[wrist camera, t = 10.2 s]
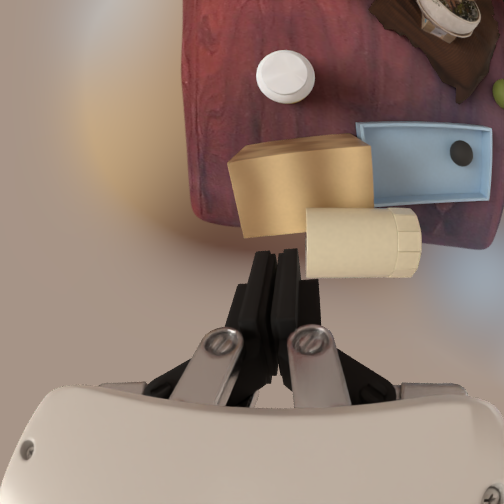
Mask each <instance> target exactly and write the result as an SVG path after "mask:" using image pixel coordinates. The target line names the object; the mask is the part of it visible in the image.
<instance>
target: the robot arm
mask: <svg viewBox="0 0 504 504" xmlns="http://www.w3.org/2000/svg"><path fill="white" fill-rule="evenodd" d="M278 364H279V369H280V375H281V376H282V378H283V383H284V385H285V386H286V387H287V388H288V389H290V390H291V391H292V392H293V400H294V409H272V408H271V409H270V408H255V405H256V402H257V399H258V397H259V389H260V388H262V387H263V386H264V385H266V384H271V380H272V376H276V375H277V371H278ZM0 504H504V418H503V416H502V415H501V413H500V412H499V410H498V409H497V408H496V407H495V406H494V405H493V404H492V403H489V402H488V401H486V400H483V399H480V398H476V397H471V396H468V393H467V391H466V390H465V389H464V388H463V387H462V386H460V385H458V384H452V383H451V384H450V383H449V384H433V383H430V384H429V383H402V384H401V385H392V384H391V383H390V382H389V381H388V380H386V379H385V378H383V377H381V376H380V375H378V374H377V373H375V372H374V371H372V370H370V369H369V368H367V367H365V366H364V365H362V364H361V363H359V362H358V361H356V360H354V359H353V358H351V357H350V356H348V355H347V354H345V353H343V352H342V351H340V350H339V349H337V348H336V345H335V341H334V338H333V335H332V333H331V332H330V331H329V330H328V329H327V328H325V327H323V326H321V313H320V297H319V283H318V279H310V280H301V275H300V265H299V256H298V249H297V248H296V249H284V253H279V257H278V264H277V260H276V255H275V254H271V253H270V251H258V252H256V253H255V257H254V261H253V265H252V269H251V273H250V276H249V280H248V284H238V286H237V289H236V292H235V295H234V298H233V302H232V305H231V308H230V311H229V315H228V318H227V321H226V325H225V327H222V328H217V329H215V330H212V331H210V332H209V333H208V334H207V335H205V337H204V338H203V339H202V341H201V343H200V344H199V346H198V348H197V350H196V351H195V353H194V355H193V357H192V358H191V359H189V360H188V361H186V362H184V363H182V364H181V365H179V366H177V367H175V368H174V369H172V370H170V371H168V372H167V373H165V374H163V375H161V376H159V377H158V378H156V379H154V380H153V381H151V382H150V383H149V384H147V383H146V382H128V383H104V384H101V385H99V386H91V385H70V386H63V387H59V388H56V389H54V390H52V391H51V392H49V393H48V394H47V395H46V397H45V398H44V399H43V400H42V402H41V403H40V404H39V406H38V407H37V409H36V410H35V412H34V414H33V415H32V417H31V419H30V421H29V422H28V424H27V426H26V428H25V430H24V432H23V434H22V436H21V438H20V440H19V442H18V444H17V446H16V449H15V451H14V453H13V456H12V458H11V460H10V463H9V465H8V468H7V470H6V473H5V475H4V478H3V481H2V484H1V487H0Z"/></svg>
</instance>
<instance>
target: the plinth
mask: <svg viewBox="0 0 504 504" xmlns="http://www.w3.org/2000/svg"><path fill="white" fill-rule="evenodd" d="M227 164H228V169H229V173H230V178H231V182H232V187H233V191H234V196H235V200H236V205H237V209H238V213H239V218H240V222H241V227H242V231H243V235H244V238H252V237H261V236H270V235H281V234H291V233H301V232H305V209H306V208H310V207H336V208H374V187H373V168H372V154H371V146H370V145H368V144H367V143H365V142H363V141H362V140H360V139H358V138H357V137H355V136H353V135H352V134H350V133H346V134H333V135H321V136H311V137H302V138H294V139H286V140H279V141H272V142H265V143H258V144H252V145H246V146H245V147H244V148H243V149H242V150H241V151H240V152H238V153H237V154H236V155H235V156H234V157H233V158H232V159H231V160H230V161H229V162H228V163H227Z"/></svg>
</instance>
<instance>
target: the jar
mask: <svg viewBox="0 0 504 504" xmlns="http://www.w3.org/2000/svg"><path fill="white" fill-rule="evenodd" d="M305 244H306V245H305V248H306V249H305V254H306V278H371V277H389V278H399V277H400V278H401V277H412V276H413V274H414V273H415V272H416V270H417V268H418V265H419V261H420V256H421V251H422V248H421V229H420V225H419V222H418V218H417V216H416V214H415V213H414V212H413V211H412V210H411V209H410V208H336V207H310V208H306V209H305Z"/></svg>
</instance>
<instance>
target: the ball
mask: <svg viewBox="0 0 504 504" xmlns="http://www.w3.org/2000/svg"><path fill="white" fill-rule="evenodd" d="M450 156H451V159H452V160H453V162H454V163H455V164H457V165H458V166H462V167H464V166H468V165H469V164H470V163H471V162H472V159H473V151H472V148H471V147H470V145H469V144H468V143H467V142H465V141H462V140H458V141H455V142H454V143H453V144H452V145H451V147H450Z"/></svg>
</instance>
